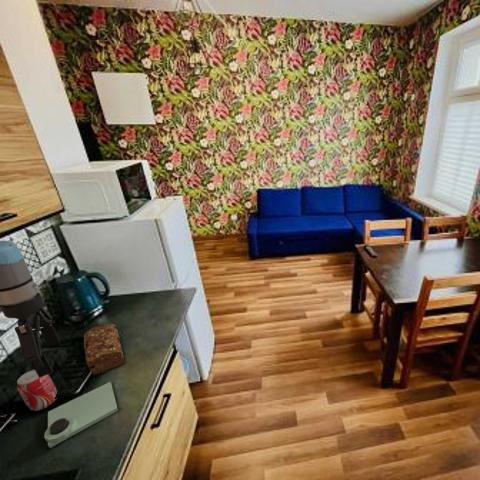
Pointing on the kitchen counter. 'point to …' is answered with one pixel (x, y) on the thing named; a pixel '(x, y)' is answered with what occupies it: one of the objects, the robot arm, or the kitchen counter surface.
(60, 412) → the scale
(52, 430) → the button
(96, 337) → the bread
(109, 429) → the kitchen counter surface
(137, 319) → the kitchen counter surface
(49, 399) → the soda can
